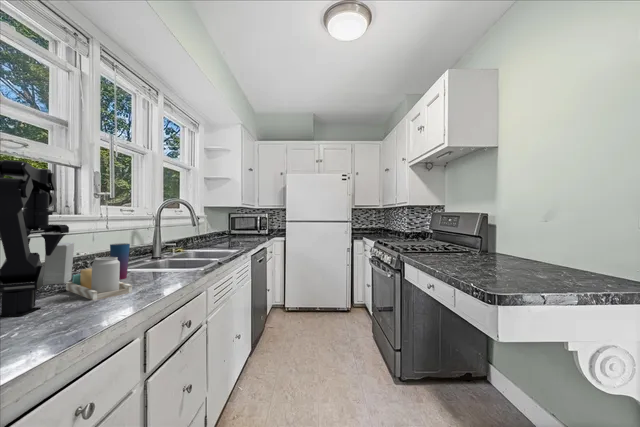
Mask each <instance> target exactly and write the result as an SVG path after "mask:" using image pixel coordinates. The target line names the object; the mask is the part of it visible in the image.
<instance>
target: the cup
mask: <svg viewBox="0 0 640 427" xmlns="http://www.w3.org/2000/svg"><path fill="white" fill-rule="evenodd" d="M130 248H131V243H128V242H126V243H121V242H119V243H110V244H109V249H110V252H109V254H110V256H109V257H117V260H118V261H119V262H120V275H119V281H120V280H125V279H127V278H128V269H129V268H128V267H129V256H130Z"/></svg>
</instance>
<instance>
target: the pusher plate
mask: <svg viewBox="0 0 640 427" xmlns="http://www.w3.org/2000/svg"><path fill="white" fill-rule="evenodd" d="M72 282H73V283H74V284H77V285H80V274H72Z"/></svg>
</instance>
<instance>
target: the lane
mask: <svg viewBox="0 0 640 427" xmlns="http://www.w3.org/2000/svg"><path fill="white" fill-rule="evenodd" d="M65 291H67V292H71V293H73V294H75V295H79V296H81V297H84V298H86V299H88V300H91V301H96V300H97V301H98V300H102V299H108V298H112V297H117V296H122V295H126V294H132V293H133V285H132V284H129V283H126V282H121V281H119V290H116V291H111V292H105V293H100V294H97V291H95V290H92V289H89V288H86V287H83V286H80V285H77V284H74V283H73V281H68V282H66V283H65Z"/></svg>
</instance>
